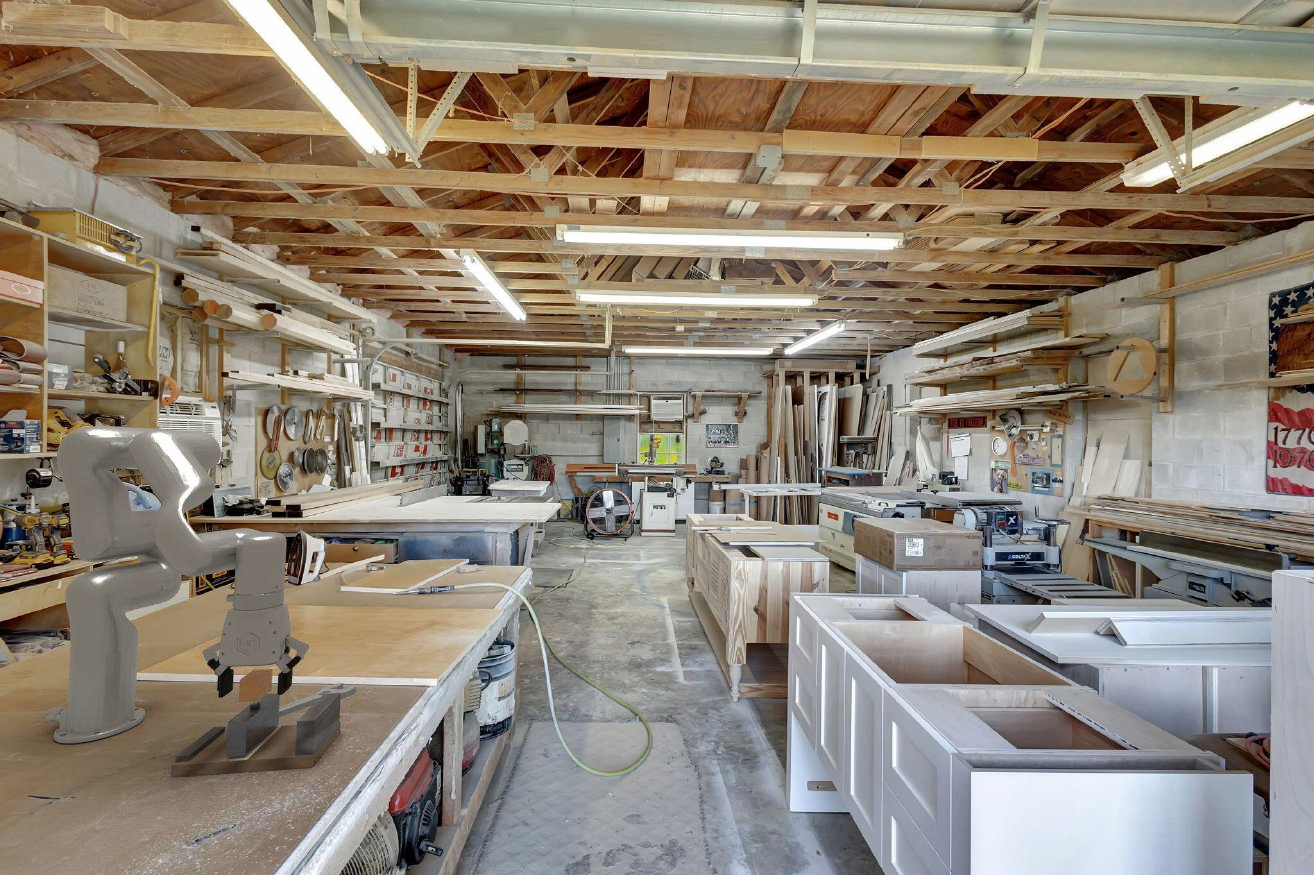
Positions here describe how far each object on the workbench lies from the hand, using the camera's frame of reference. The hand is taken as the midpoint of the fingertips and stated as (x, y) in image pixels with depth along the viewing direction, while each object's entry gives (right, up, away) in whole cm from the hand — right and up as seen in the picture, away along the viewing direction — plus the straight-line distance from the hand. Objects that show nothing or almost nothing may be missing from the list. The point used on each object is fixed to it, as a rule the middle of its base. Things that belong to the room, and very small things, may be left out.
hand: (254, 693), depth 99 cm
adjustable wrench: (-5, -12, +17) cm, 21 cm away
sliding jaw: (0, -9, 0) cm, 9 cm away
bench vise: (+1, -11, 0) cm, 11 cm away
